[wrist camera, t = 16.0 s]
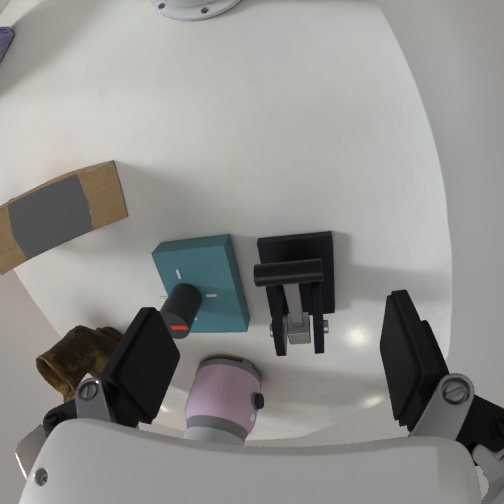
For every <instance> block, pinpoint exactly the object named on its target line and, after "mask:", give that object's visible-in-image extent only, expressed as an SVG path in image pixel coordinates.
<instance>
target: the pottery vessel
mask: <svg viewBox="0 0 504 504" xmlns="http://www.w3.org/2000/svg"><path fill="white" fill-rule="evenodd" d="M122 337H123V336H122V335H121V334H119V333H118V332H117V331H115V330H113V329H112V328H110V327H104V328H103V329H102V328H97V329H96V330H93V329H90V328H87V327H85V326H81V325H79V326H76V327H75V328H73V329H72V330H70V331H69V332H68V333H67V334H66V335H65V337H64V338H63V339H62V340H61V341H59V342H58V343H57V344H56V345H54V346H53V347H52V348H51V349H50V350H49V351H47V352H45V353H44V354H42V355H40V356H39V357H38V358H37V359H36V367H37V369H38V371H39V373H40V374H41V375H42V376H43V378H44V379H45V380H46V381H47V382H48V383H49V384H50V385H51V386H53V388H55V389H56V390H57V391H59V392H60V393H61V394H62V395H63V397H64V403H66V402H68V401H70V400H72V399H74V398H75V391H76V389H77V387H78V385H79V383H80V382H81V380H82V379H83V377H84V376H85V375H86V374H87V373H89V374H91V375H92V376H93V377H94V378H96V379H98V380H100V381H101V379H102V378H101V376H100V374H101V372H102V370H103V369H104V367H105V365H106V364H107V362H108V360H109V359H110V357H111V355H112V354H113V352H114V350H115V349H116V347H117V345H118V344H119V342H120V340H121V339H122Z"/></svg>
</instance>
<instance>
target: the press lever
mask: <svg viewBox="0 0 504 504" xmlns="http://www.w3.org/2000/svg"><path fill="white" fill-rule="evenodd" d="M254 281H255V285H256V286H257V287H260V286H274V285H283V287H284V291H285V295H286V300H287V304H288V308H289V314H287V335H288V338H289V342H290V344H305V343H311V338H310V319H309V312H303V311H302V304H301V298H300V291H299V285H298V283H309V282H320V281H323V270H322V261H321V259H311V260H301V261H290V262H279V263H268V264H257V265H255V266H254Z"/></svg>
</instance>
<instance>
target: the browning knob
mask: <svg viewBox="0 0 504 504" xmlns="http://www.w3.org/2000/svg"><path fill="white" fill-rule="evenodd" d="M201 304H202V295H201V293H200V292H199V290H198V289H197V288H195V287H194V286H192V285H190V284H186V283H180V284H177V285H176V286H174V288H173V289H172V291H171V293H170V294H169V296H168V298H167V299H166V301H165V303H164V305H163V306H162V308H161V310H160V311H159V312H160V314H161V316H162V318H163V320H164V322H165V324H166V326H167V328H168V330H169V333H170V335H171V337H172V338H175V339H182V338H185V337H186V336H187V335H188V334H189V332H190V329H191V327H192V325H193V322H194V320H195V318H196V315H197V313H198V311H199V308H200V306H201Z"/></svg>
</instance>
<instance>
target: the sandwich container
mask: <svg viewBox="0 0 504 504" xmlns="http://www.w3.org/2000/svg"><path fill="white" fill-rule="evenodd" d="M125 217H128V215H127V211H126V207H125V203H124V198H123V194H122V190H121V186H120V183H119V179H118V176H117V173H116V169H115V166H114V162H113V161H109V162H105V163H101V164H97V165H93V166H89V167H86V168H82V169H79V170H76V171H73V172H70V173H67V174H65V175H62V176H59V177H57V178H55V179H52V180H50V181H48V182H46V183H44V184H42V185H40V186H38V187H36V188H33V189H31V190H30V191H28V192H26V193H24V194H22V195H20V196H18V197H16V198H14V199H12V200H11V201H9V202H7V203H5V204H3V205H2V206H0V274H2V275H3V274H5V273H6V272H8V271H9V270H11V269H13V268H15V267H17V266H18V265H20V264H22V263H24V262H25V261H27V260H29V259H31V258H33V257H35V256H37V255H39V254H41V253H43V252H45V251H47V250H50V249H52V248H54V247H56V246H58V245H60V244H62V243H65V242H67V241H69V240H71V239H74V238H76V237H78V236H80V235H83V234H85V233H87V232H90V231H92V230H94V229H97V228H99V227H102V226H104V225H107V224H109V223H112V222H114V221H117V220H120V219H122V218H125Z"/></svg>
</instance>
